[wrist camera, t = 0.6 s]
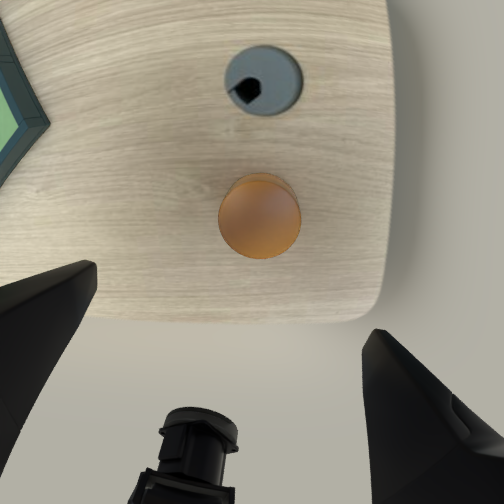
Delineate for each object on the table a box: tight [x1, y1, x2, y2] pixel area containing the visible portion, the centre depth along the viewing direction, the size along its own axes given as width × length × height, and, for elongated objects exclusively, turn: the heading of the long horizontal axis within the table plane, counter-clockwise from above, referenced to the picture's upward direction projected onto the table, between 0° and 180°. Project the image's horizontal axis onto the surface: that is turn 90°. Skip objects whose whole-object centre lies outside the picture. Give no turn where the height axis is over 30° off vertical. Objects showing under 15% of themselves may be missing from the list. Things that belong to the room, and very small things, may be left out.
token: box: [218, 173, 301, 259], centre depth 19 cm, size 5×5×2 cm
